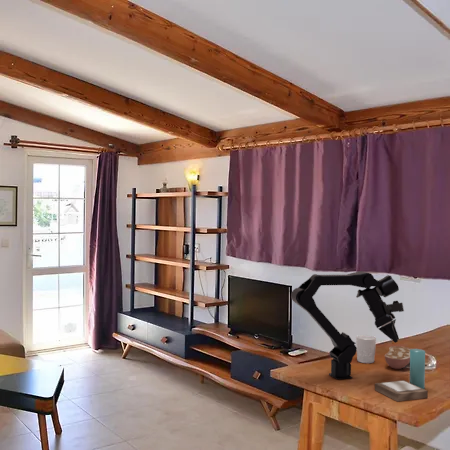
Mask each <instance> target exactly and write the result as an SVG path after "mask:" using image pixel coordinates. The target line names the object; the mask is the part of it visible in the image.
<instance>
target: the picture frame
mask: <svg viewBox="0 0 450 450" xmlns="http://www.w3.org/2000/svg"><path fill="white" fill-rule="evenodd" d="M409 382H410V381H409ZM409 382H408V381H406V380H404V379H403V380H402V379H401V380H395V381H387V382H376V383H374V391H376V392H378V393H379V394H382V395H384V396H386V397H387V398H389V399H391V400H393V401H396V402H405V401H406V402H407V401H412V400H420V399H427V398H428V397H429V396H428V390H426V389H422V388H420V387H418V386H416V385H413V384H411V383H409Z"/></svg>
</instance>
